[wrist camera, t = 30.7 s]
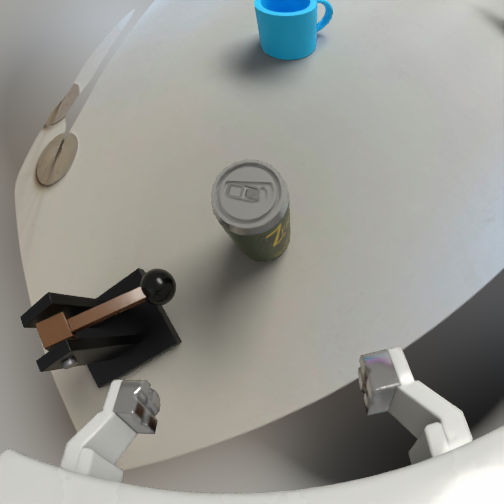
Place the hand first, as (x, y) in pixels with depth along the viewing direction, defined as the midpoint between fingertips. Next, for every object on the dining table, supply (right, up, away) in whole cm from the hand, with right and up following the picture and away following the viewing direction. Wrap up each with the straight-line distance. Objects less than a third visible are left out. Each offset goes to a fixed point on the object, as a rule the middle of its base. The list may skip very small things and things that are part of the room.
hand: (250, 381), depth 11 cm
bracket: (-15, -4, +21) cm, 26 cm away
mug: (+7, +36, +27) cm, 46 cm away
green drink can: (+1, +6, +21) cm, 22 cm away
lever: (-12, -1, +14) cm, 19 cm away
